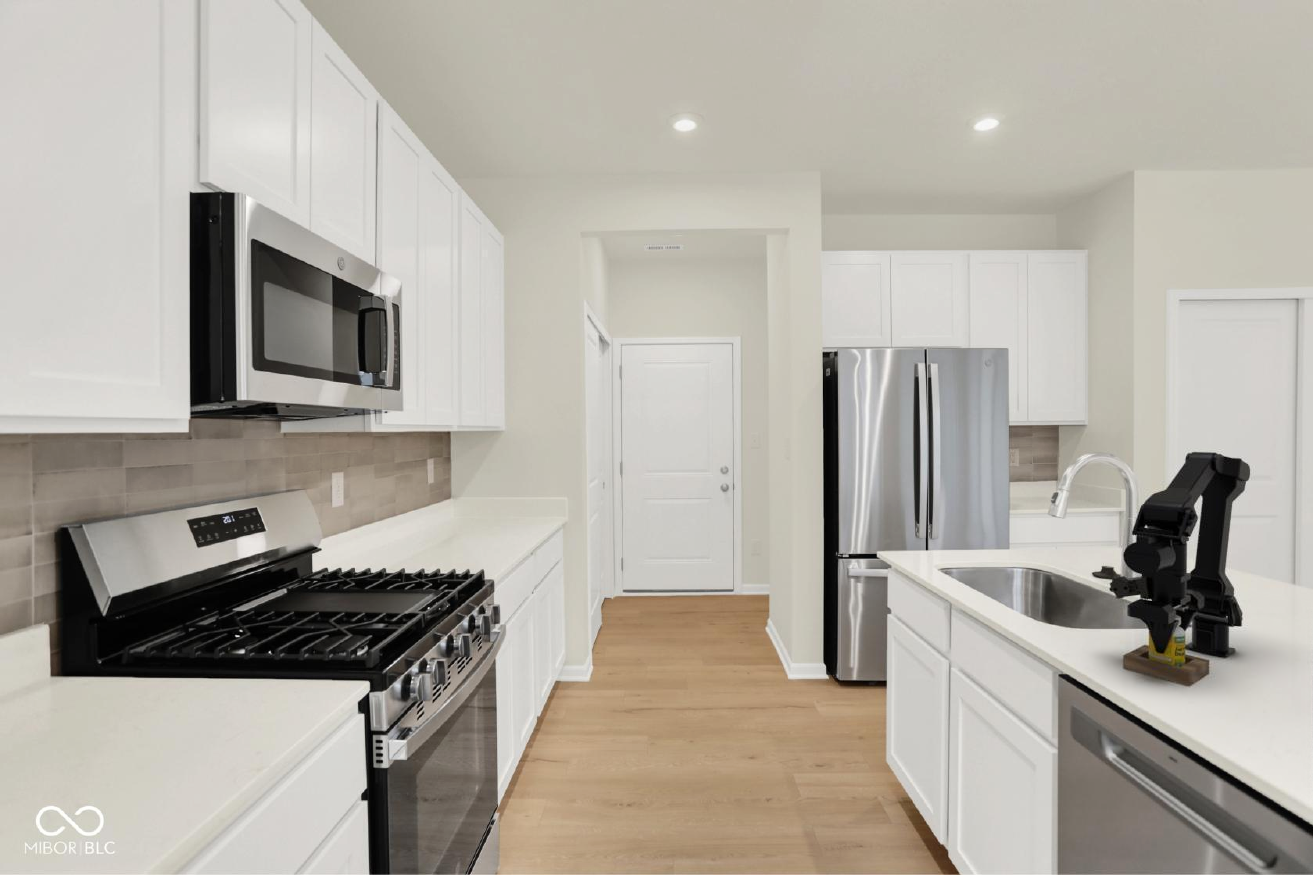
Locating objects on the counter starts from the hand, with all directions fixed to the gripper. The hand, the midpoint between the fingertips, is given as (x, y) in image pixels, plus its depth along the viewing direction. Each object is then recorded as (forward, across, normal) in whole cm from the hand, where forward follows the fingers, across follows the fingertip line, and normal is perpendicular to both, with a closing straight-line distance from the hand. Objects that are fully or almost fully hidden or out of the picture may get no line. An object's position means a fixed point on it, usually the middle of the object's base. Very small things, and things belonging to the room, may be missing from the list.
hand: (1166, 649), depth 119 cm
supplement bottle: (+3, 0, 0) cm, 3 cm away
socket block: (+4, 0, 0) cm, 4 cm away
